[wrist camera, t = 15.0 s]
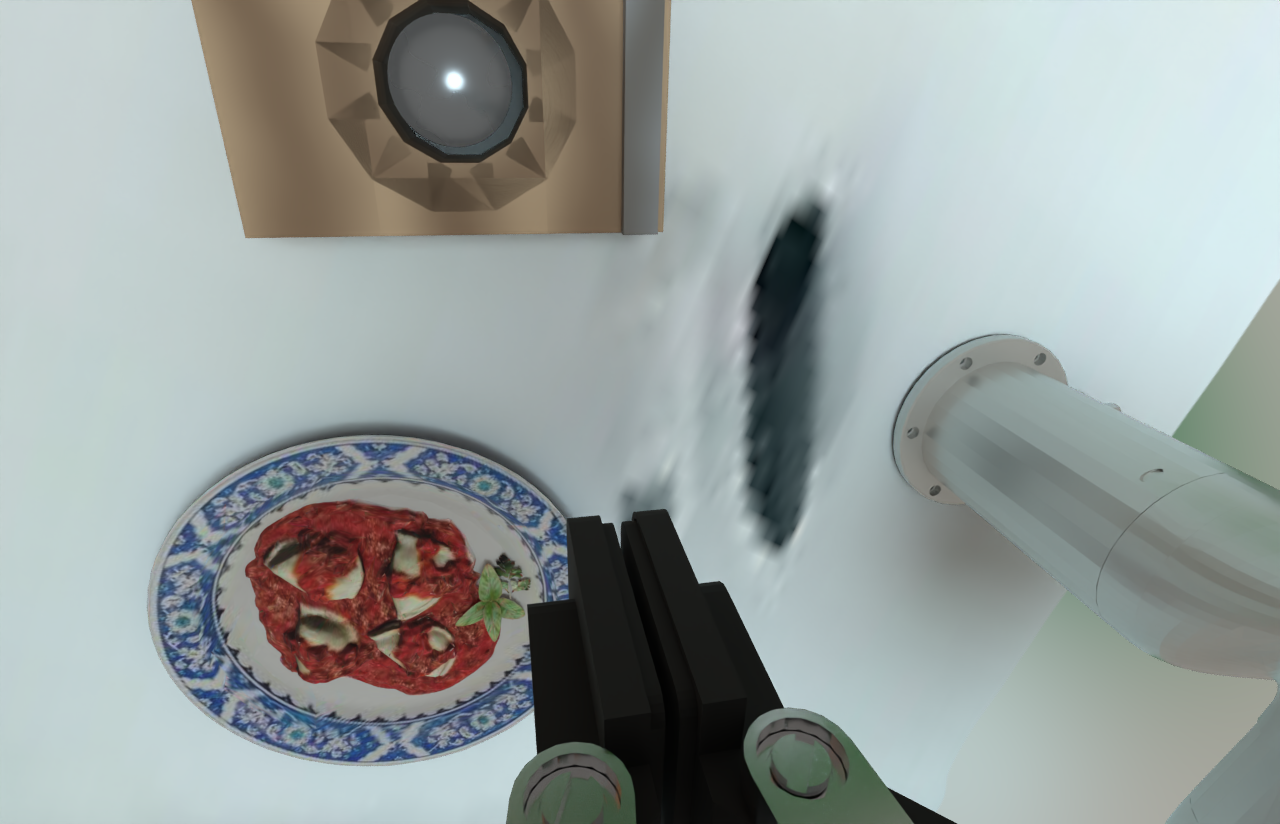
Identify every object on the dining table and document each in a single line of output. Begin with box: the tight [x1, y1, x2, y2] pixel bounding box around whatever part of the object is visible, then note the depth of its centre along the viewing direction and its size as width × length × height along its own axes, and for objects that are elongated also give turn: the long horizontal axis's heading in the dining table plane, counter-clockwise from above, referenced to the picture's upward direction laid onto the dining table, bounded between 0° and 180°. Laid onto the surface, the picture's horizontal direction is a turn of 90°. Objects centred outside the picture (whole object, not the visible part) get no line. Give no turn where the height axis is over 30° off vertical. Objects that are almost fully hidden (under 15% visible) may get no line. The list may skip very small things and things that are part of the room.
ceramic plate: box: [147, 435, 569, 766], centre depth 41 cm, size 26×26×3 cm
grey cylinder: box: [387, 13, 512, 147], centre depth 28 cm, size 4×4×8 cm
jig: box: [191, 0, 671, 238], centre depth 29 cm, size 18×12×6 cm, turn 89°
